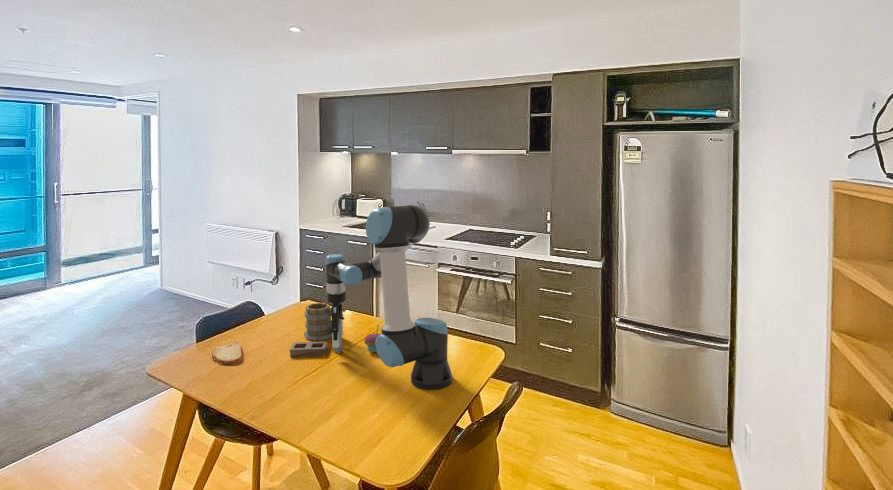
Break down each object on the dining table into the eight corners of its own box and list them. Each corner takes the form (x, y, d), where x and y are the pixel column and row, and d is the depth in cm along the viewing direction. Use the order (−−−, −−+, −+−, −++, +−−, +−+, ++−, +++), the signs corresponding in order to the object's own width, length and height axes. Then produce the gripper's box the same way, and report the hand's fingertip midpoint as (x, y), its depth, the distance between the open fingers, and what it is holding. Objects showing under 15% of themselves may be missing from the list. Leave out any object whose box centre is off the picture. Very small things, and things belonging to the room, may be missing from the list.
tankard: (299, 338, 223) (297, 306, 220) (314, 329, 235) (313, 298, 232) (339, 343, 217) (337, 311, 215) (352, 334, 229) (351, 302, 227)
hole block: (325, 355, 205) (324, 348, 204) (290, 356, 203) (289, 349, 203) (327, 348, 212) (327, 341, 212) (294, 349, 211) (293, 342, 211)
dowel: (341, 352, 208) (340, 320, 205) (334, 352, 207) (332, 320, 205) (342, 349, 211) (341, 318, 208) (335, 350, 210) (333, 318, 208)
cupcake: (386, 346, 214) (386, 320, 212) (382, 354, 206) (381, 326, 204) (367, 345, 215) (366, 319, 213) (361, 353, 207) (361, 326, 205)
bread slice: (237, 367, 194) (236, 358, 194) (196, 363, 198) (195, 354, 197) (262, 349, 212) (262, 341, 211) (225, 346, 215) (224, 337, 215)
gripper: (342, 300, 193) (344, 352, 196) (348, 283, 217) (349, 330, 221) (322, 301, 192) (324, 352, 196) (330, 284, 216) (332, 330, 220)
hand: (337, 340), depth 208 cm, fingers open, 13 cm apart
